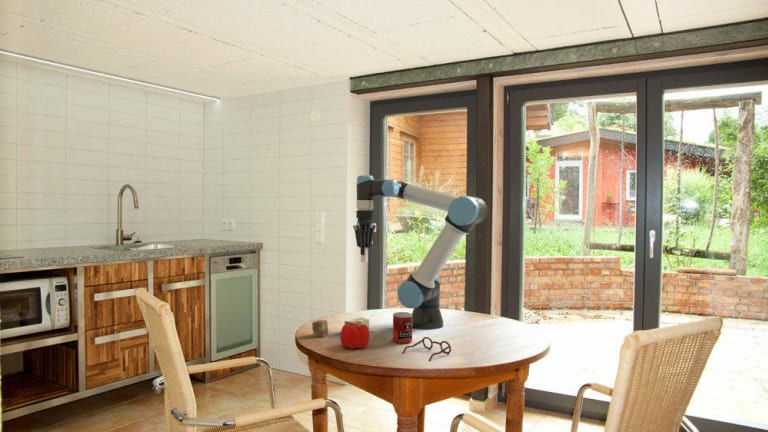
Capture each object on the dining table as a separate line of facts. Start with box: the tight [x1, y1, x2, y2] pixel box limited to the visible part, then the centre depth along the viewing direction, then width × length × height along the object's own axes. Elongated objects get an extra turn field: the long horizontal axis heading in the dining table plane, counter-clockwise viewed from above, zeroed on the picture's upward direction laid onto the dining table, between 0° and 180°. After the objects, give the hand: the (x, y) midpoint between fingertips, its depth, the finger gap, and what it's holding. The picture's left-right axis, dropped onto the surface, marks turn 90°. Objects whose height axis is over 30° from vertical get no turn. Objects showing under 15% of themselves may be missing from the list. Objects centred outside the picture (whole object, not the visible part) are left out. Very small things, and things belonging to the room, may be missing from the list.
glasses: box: [401, 336, 452, 362], centre depth 188 cm, size 13×13×5 cm
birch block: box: [343, 317, 370, 330], centre depth 218 cm, size 5×5×10 cm
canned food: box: [392, 311, 413, 345], centre depth 205 cm, size 8×8×11 cm
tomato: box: [339, 322, 371, 350], centre depth 195 cm, size 11×12×9 cm
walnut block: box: [311, 319, 329, 338], centre depth 211 cm, size 4×4×6 cm
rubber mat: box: [326, 330, 375, 340], centre depth 215 cm, size 11×19×1 cm, turn 141°
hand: (364, 262), depth 233 cm, fingers closed
